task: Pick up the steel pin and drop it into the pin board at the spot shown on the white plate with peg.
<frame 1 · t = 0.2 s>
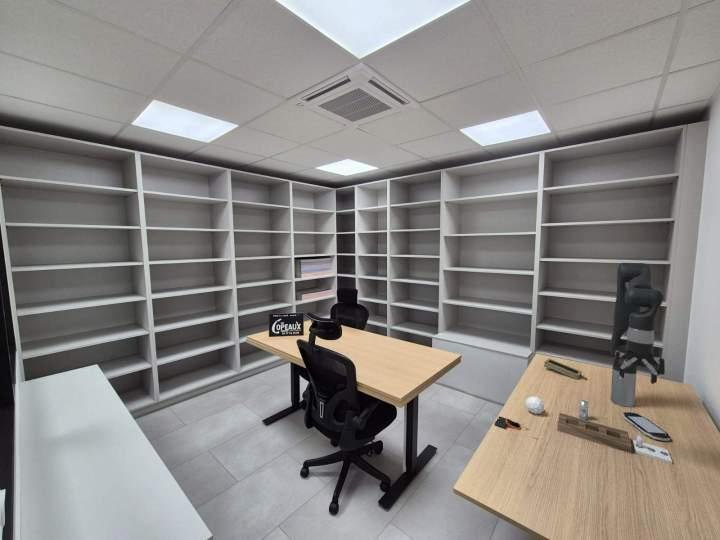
hand: (637, 380, 116), 29 cm above the table, fingers open, 8 cm apart
geometric ball: (534, 412, 145), on the table
gaming console: (644, 429, 132), on the table
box: (564, 374, 187), on the table
steel pin: (583, 418, 140), on the table
white plate with peg: (651, 452, 117), on the table
pin board: (591, 434, 128), on the table
multimeter: (518, 429, 133), on the table
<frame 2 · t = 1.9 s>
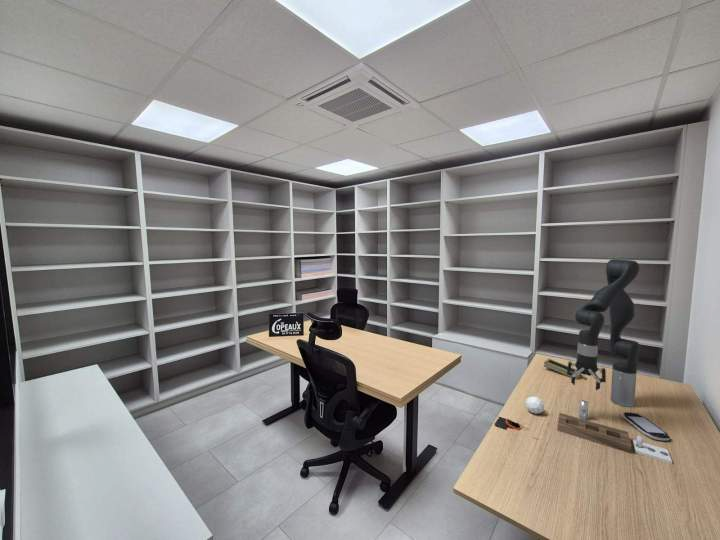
hand: (585, 386, 138), 15 cm above the table, fingers open, 8 cm apart
nothing on the table moved.
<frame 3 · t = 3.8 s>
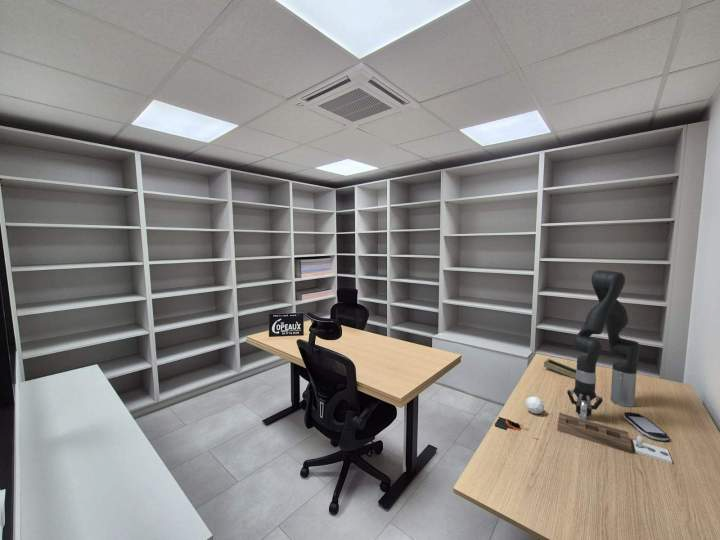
hand: (583, 414, 140), 2 cm above the table, fingers closed on steel pin, 3 cm apart
steel pin: (583, 418, 140), on the table, touching gripper
everything else where it was.
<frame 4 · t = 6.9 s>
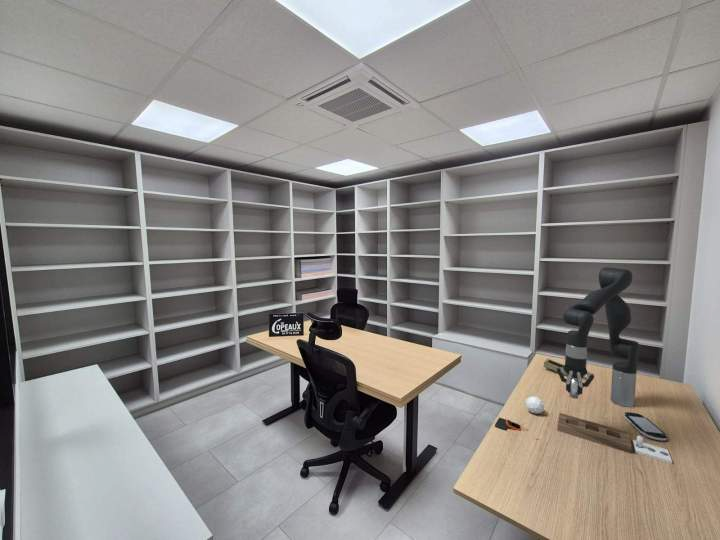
hand: (573, 392, 131), 17 cm above the table, fingers closed on steel pin, 3 cm apart
steel pin: (573, 396, 131), point 15 cm above the table, touching gripper
everything else where it was.
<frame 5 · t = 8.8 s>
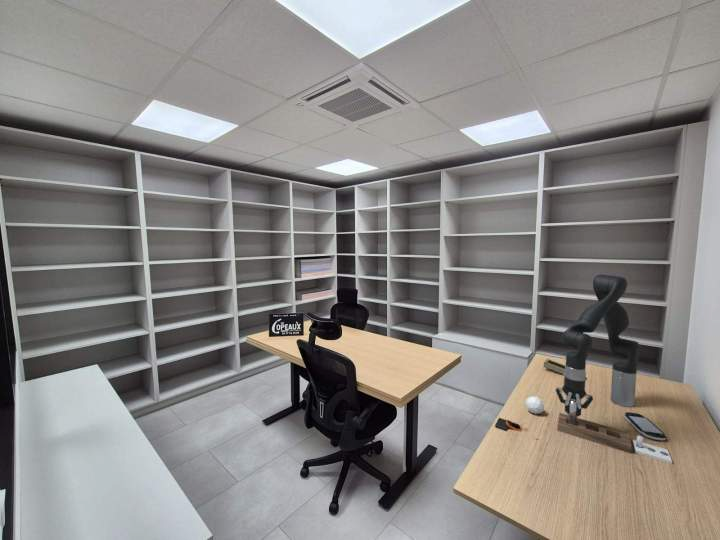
hand: (572, 413, 131), 7 cm above the table, fingers closed on steel pin, 3 cm apart
steel pin: (572, 417, 131), point 5 cm above the table, touching gripper
everything else where it was.
when the fingers open (4 cm above the table, at t = 10.4 s): steel pin drops 2 cm, resting in pin board.
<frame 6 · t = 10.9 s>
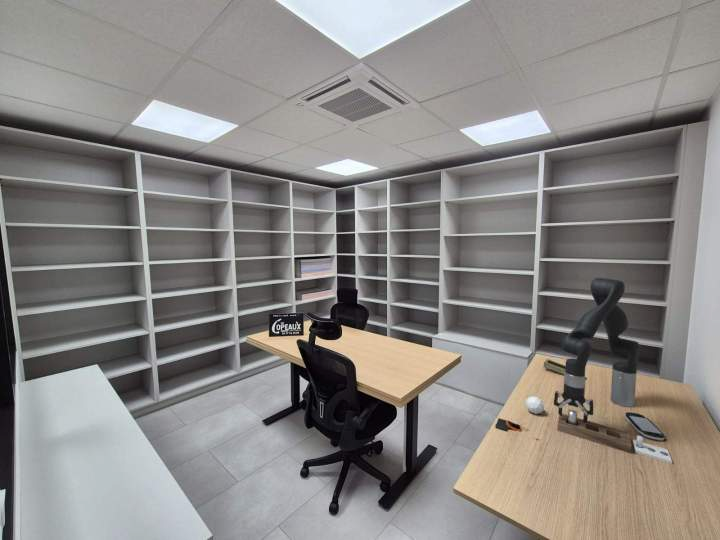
hand: (572, 418, 132), 5 cm above the table, fingers open, 8 cm apart
steel pin: (571, 428, 132), resting in pin board
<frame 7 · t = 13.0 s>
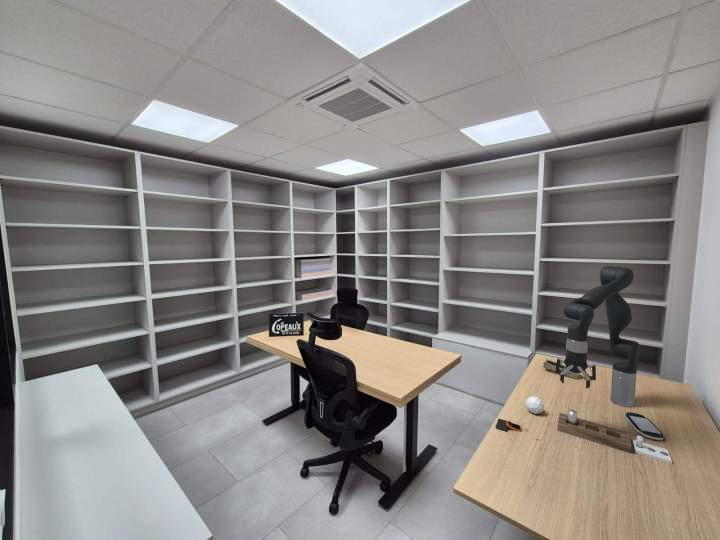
hand: (574, 385, 130), 20 cm above the table, fingers open, 8 cm apart
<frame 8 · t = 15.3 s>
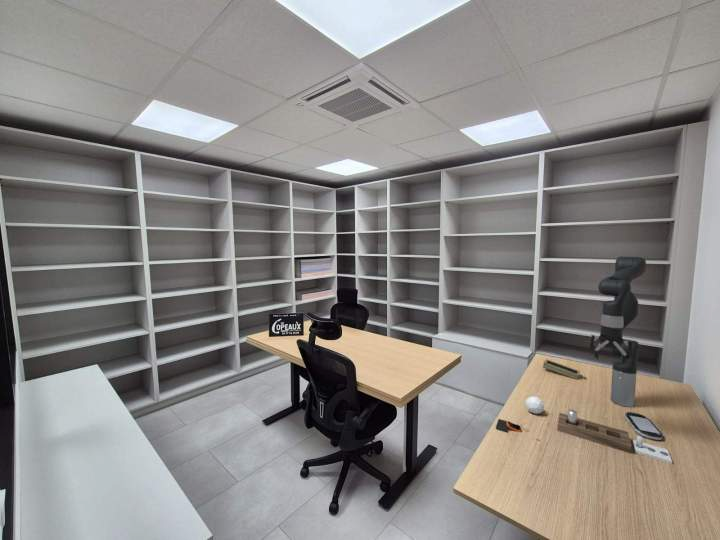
hand: (609, 360, 132), 30 cm above the table, fingers open, 8 cm apart
at the end: steel pin 0.0 cm from the target spot on the pin board, point 0.0 cm above the pin board's base; steel pin tilted 0°; the gripper is holding nothing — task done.
